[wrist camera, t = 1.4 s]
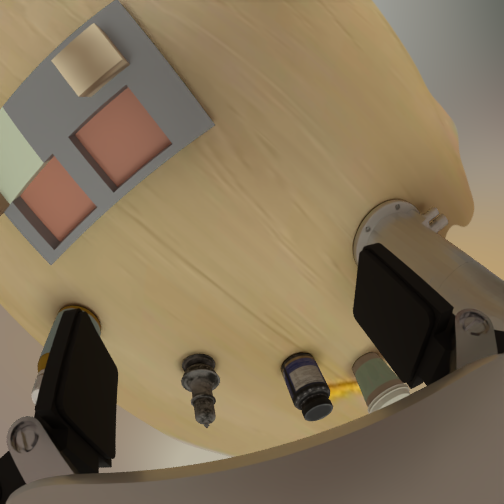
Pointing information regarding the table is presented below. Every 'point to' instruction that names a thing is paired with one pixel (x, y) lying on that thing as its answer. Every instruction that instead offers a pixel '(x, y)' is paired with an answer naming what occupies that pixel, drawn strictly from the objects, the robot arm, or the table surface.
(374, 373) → the coffee cup
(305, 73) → the table surface
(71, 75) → the maple block
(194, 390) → the salt shaker
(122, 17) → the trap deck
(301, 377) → the pill bottle
